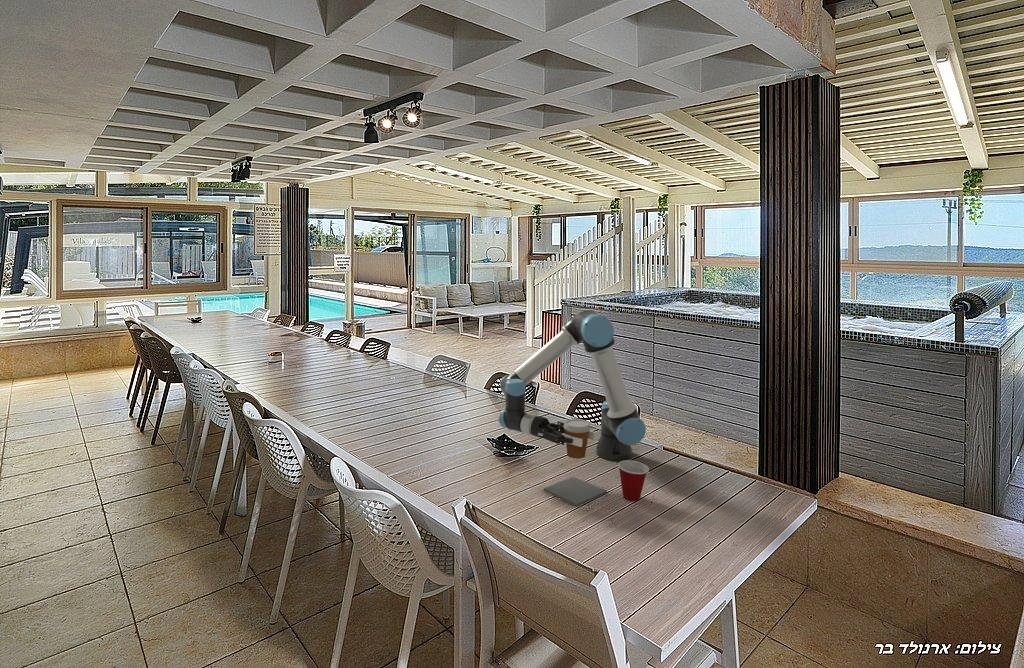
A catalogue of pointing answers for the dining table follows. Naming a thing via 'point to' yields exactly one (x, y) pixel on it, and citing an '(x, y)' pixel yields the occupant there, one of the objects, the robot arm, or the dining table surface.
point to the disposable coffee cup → (580, 431)
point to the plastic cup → (632, 478)
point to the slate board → (575, 491)
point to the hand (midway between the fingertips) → (588, 439)
